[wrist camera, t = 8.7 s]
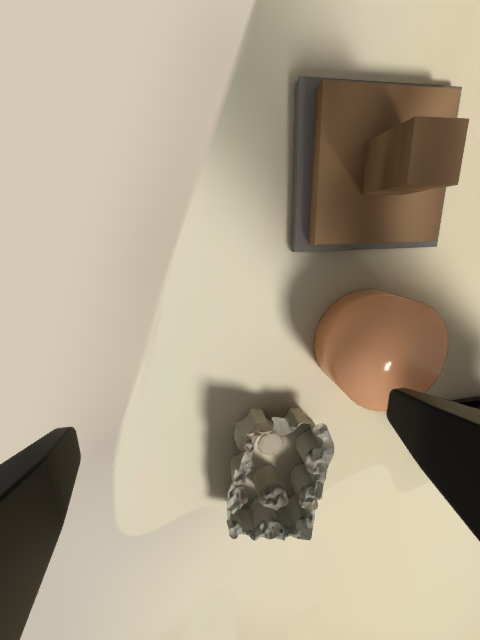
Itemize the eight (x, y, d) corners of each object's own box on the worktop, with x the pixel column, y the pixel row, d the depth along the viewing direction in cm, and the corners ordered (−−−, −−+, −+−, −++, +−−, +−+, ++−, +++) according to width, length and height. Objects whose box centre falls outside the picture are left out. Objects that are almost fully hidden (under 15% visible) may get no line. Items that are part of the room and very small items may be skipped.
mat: (453, 91, 20) (461, 87, 19) (430, 246, 22) (436, 246, 22) (295, 81, 18) (299, 76, 17) (291, 251, 21) (294, 252, 20)
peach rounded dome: (413, 286, 23) (457, 296, 19) (399, 378, 25) (437, 404, 21) (316, 292, 22) (344, 304, 18) (311, 389, 24) (335, 417, 20)
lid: (447, 96, 19) (534, 49, 14) (425, 240, 21) (493, 242, 17) (316, 87, 17) (364, 33, 13) (309, 244, 20) (347, 246, 15)
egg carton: (235, 401, 23) (245, 433, 20) (321, 405, 25) (346, 436, 21) (217, 509, 26) (222, 556, 22) (296, 506, 28) (314, 551, 24)
